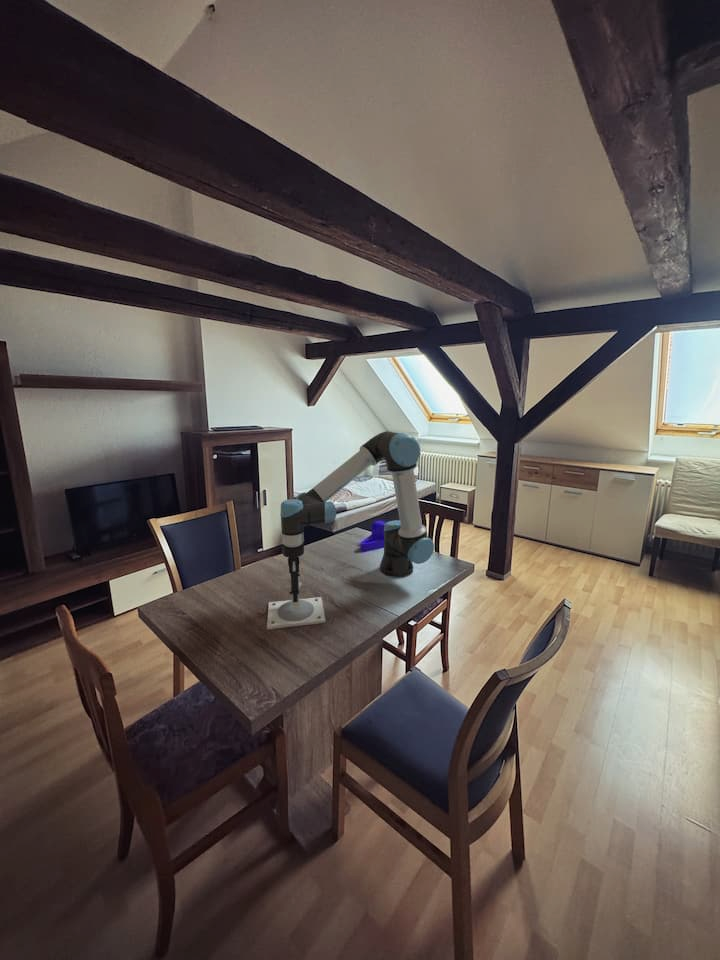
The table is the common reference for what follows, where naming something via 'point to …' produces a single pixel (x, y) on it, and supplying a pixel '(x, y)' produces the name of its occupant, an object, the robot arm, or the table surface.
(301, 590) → the pipe connector
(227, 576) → the table surface
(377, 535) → the bracket
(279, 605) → the duct panel
